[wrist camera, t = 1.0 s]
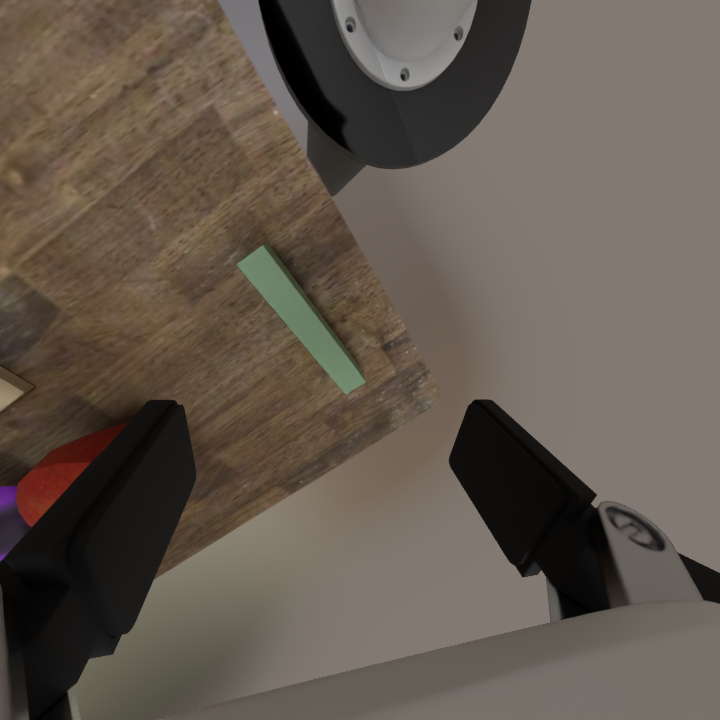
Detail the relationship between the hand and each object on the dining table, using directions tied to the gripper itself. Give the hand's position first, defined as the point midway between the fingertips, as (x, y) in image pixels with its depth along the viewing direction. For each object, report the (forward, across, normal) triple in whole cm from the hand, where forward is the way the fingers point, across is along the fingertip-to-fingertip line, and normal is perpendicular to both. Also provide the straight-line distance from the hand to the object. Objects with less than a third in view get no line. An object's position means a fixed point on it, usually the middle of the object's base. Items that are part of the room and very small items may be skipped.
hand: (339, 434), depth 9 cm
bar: (+23, 0, +3) cm, 23 cm away
